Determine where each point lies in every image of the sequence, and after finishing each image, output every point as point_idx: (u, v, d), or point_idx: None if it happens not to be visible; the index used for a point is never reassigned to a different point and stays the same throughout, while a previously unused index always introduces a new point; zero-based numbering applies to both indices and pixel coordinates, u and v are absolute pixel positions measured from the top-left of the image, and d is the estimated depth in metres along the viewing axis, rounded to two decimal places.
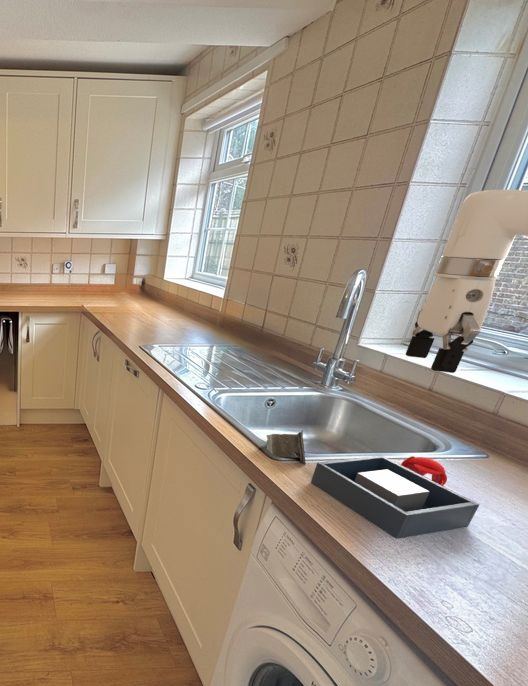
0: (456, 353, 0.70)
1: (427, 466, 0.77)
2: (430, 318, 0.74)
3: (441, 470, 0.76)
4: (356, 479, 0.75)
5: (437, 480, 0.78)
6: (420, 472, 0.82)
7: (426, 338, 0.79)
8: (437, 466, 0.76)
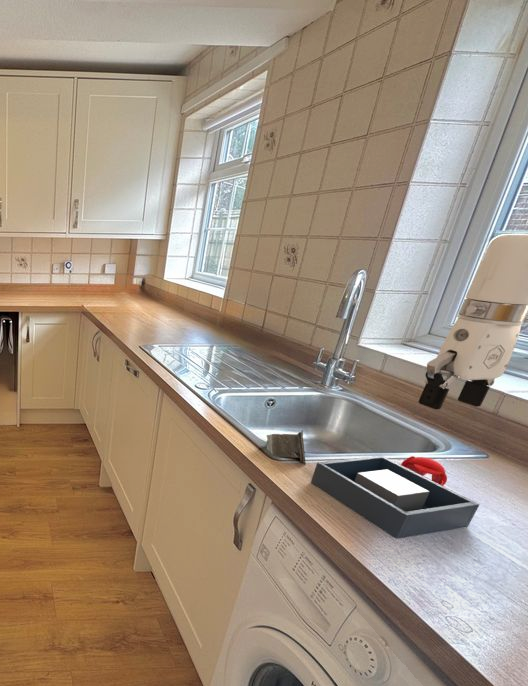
0: (434, 388, 0.72)
1: (427, 466, 0.77)
2: None
3: (441, 470, 0.76)
4: (356, 479, 0.75)
5: (437, 480, 0.78)
6: (420, 472, 0.82)
7: (478, 385, 0.74)
8: (437, 466, 0.76)
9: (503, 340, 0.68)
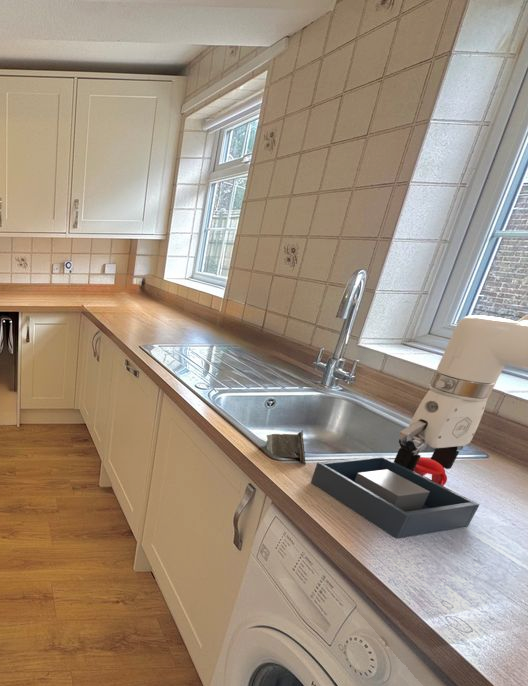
0: (407, 454, 0.76)
1: (427, 466, 0.77)
2: None
3: (441, 470, 0.76)
4: (356, 479, 0.75)
5: (437, 480, 0.78)
6: (420, 472, 0.82)
7: (449, 449, 0.79)
8: (437, 466, 0.76)
9: (470, 413, 0.72)
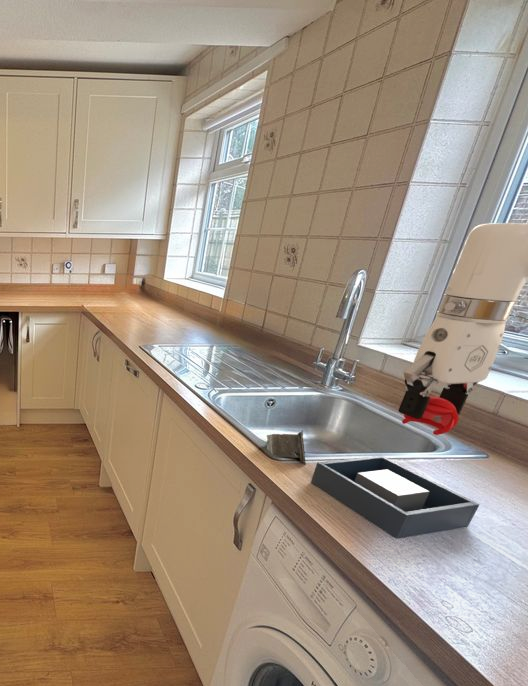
0: (414, 396, 0.66)
1: (435, 404, 0.66)
2: None
3: (452, 408, 0.65)
4: (356, 479, 0.75)
5: (447, 421, 0.67)
6: (427, 415, 0.71)
7: (456, 392, 0.68)
8: (447, 403, 0.66)
9: (486, 340, 0.62)
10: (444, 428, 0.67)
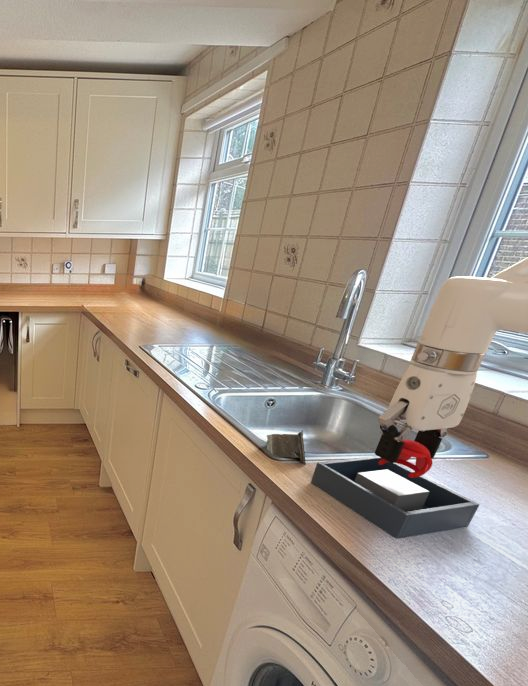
0: (390, 440, 0.68)
1: (410, 448, 0.67)
2: None
3: (426, 453, 0.67)
4: (356, 479, 0.75)
5: (421, 465, 0.69)
6: (403, 457, 0.72)
7: (431, 436, 0.69)
8: (421, 448, 0.67)
9: (457, 389, 0.63)
10: (418, 472, 0.68)
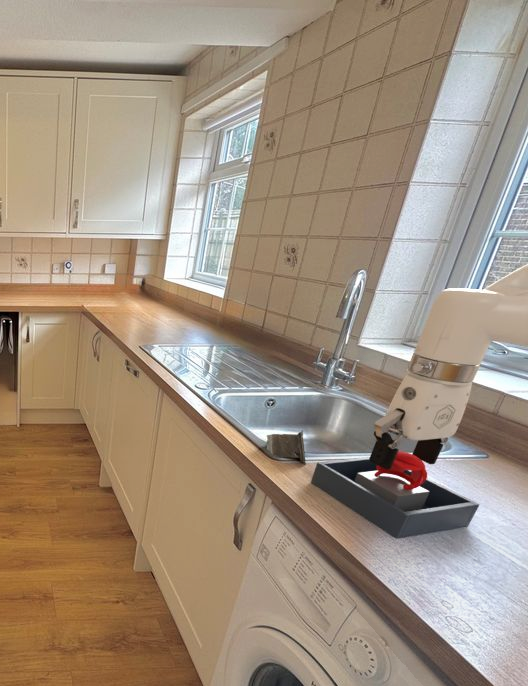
0: (384, 447, 0.68)
1: (405, 461, 0.68)
2: None
3: (421, 466, 0.68)
4: (356, 479, 0.75)
5: (417, 477, 0.69)
6: (398, 468, 0.73)
7: (432, 442, 0.70)
8: (416, 461, 0.68)
9: (452, 400, 0.63)
10: (414, 484, 0.69)
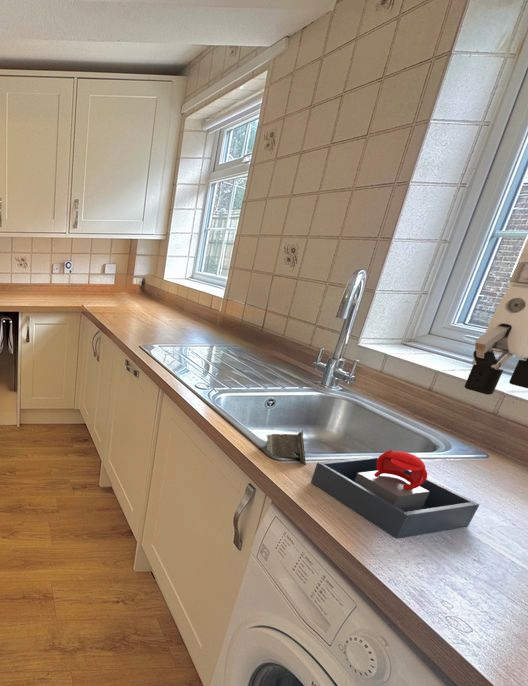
0: (485, 370, 0.61)
1: (405, 461, 0.68)
2: None
3: (421, 466, 0.68)
4: (356, 479, 0.75)
5: (417, 477, 0.69)
6: (398, 468, 0.73)
7: None
8: (416, 461, 0.68)
9: None
10: (414, 484, 0.69)
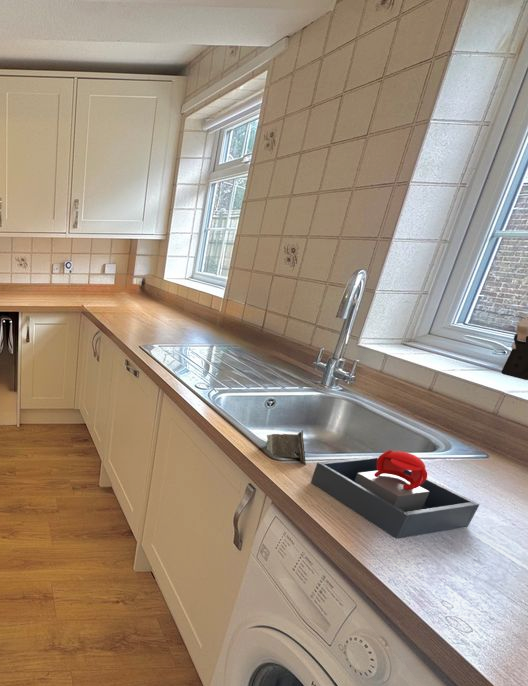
0: (525, 354, 0.60)
1: (405, 461, 0.68)
2: None
3: (421, 466, 0.68)
4: (356, 479, 0.75)
5: (417, 477, 0.69)
6: (398, 468, 0.73)
7: None
8: (416, 461, 0.68)
9: None
10: (414, 484, 0.69)
